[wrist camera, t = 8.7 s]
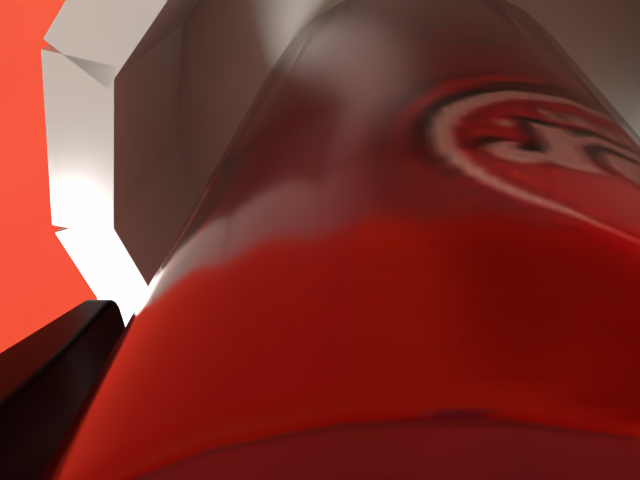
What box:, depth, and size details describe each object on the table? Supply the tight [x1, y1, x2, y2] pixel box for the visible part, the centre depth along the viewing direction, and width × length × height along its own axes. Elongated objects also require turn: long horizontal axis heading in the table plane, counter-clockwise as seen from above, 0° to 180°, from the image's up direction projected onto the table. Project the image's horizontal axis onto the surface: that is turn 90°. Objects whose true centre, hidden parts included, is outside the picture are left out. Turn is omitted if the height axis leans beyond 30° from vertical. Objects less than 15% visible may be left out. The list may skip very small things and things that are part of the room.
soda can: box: [39, 0, 640, 480], centre depth 9 cm, size 7×7×12 cm
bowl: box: [41, 0, 640, 327], centre depth 13 cm, size 13×13×4 cm
